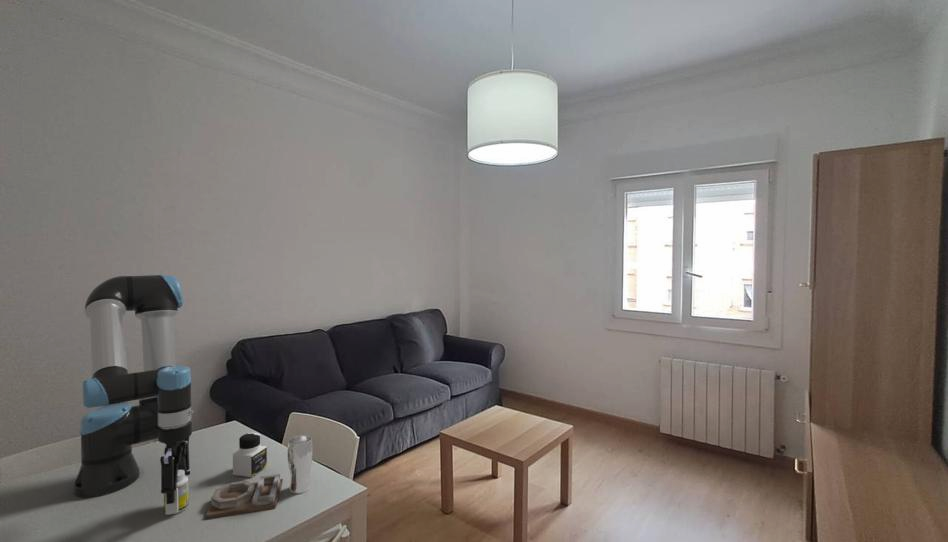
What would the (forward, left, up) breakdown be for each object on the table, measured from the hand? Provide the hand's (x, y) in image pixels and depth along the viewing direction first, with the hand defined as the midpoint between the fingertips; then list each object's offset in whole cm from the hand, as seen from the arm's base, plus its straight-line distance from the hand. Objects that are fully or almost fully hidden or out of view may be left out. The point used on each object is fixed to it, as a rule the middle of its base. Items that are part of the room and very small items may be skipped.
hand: (176, 506), depth 115 cm
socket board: (0, +18, -1) cm, 18 cm away
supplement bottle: (0, 0, -1) cm, 1 cm away
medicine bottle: (-17, +15, -1) cm, 23 cm away
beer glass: (-2, +32, -1) cm, 32 cm away
